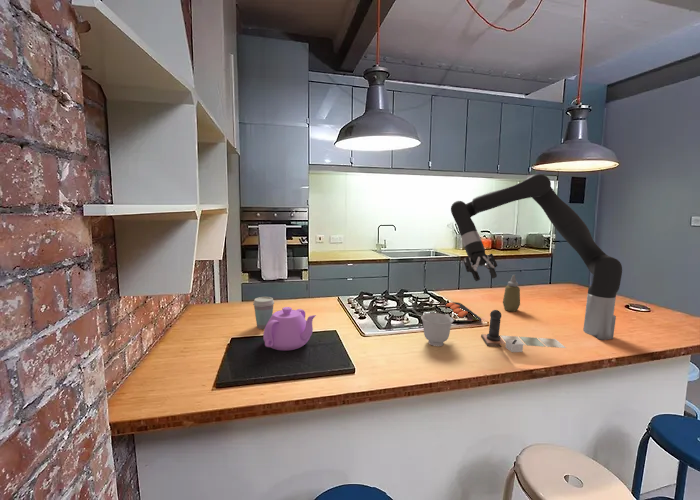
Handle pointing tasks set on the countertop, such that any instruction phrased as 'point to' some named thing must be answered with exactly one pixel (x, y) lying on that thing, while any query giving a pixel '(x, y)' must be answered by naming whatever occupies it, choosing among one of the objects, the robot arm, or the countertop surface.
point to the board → (527, 340)
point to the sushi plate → (460, 310)
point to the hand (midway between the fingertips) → (486, 279)
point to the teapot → (288, 329)
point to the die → (514, 346)
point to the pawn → (494, 326)
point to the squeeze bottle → (512, 295)
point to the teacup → (436, 327)
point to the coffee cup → (263, 310)
